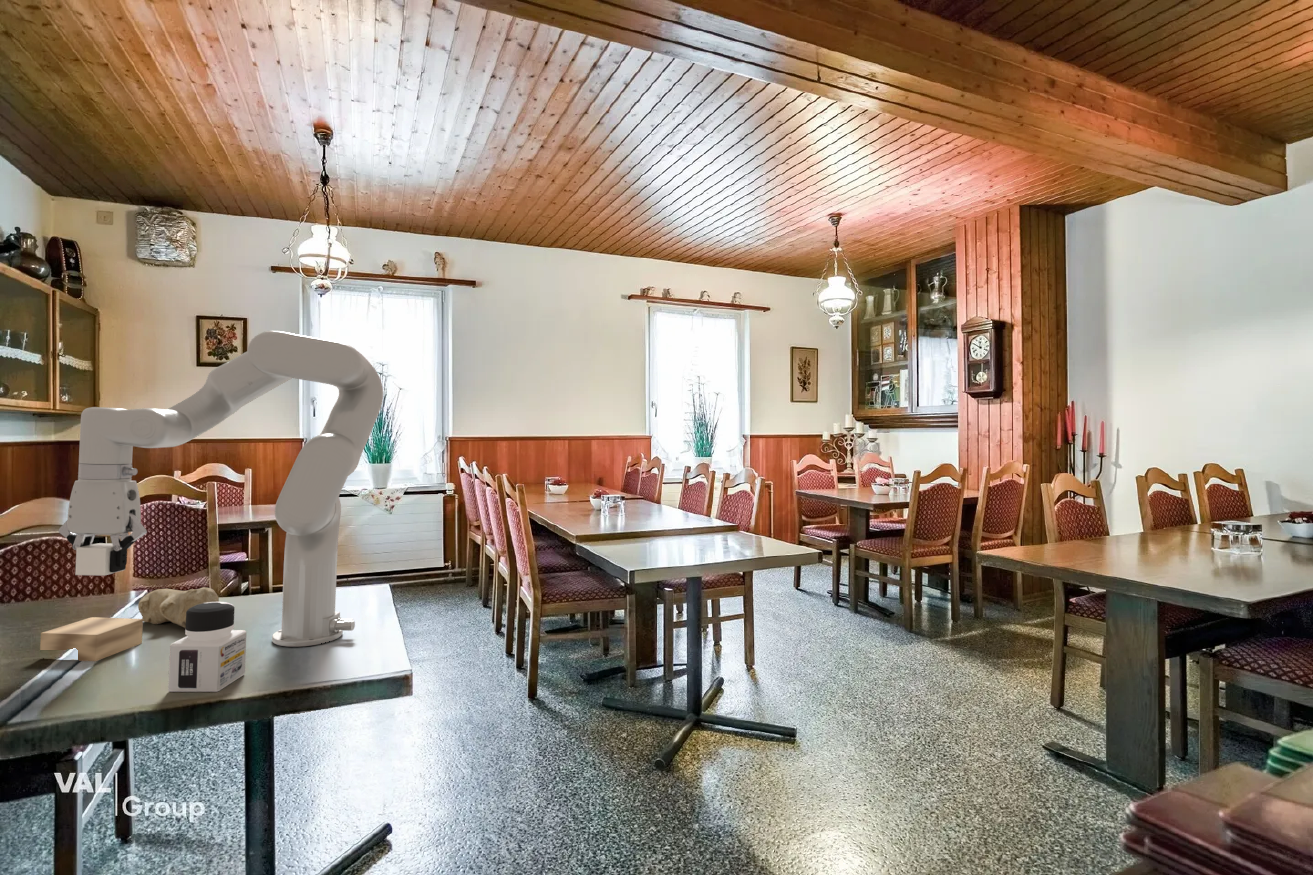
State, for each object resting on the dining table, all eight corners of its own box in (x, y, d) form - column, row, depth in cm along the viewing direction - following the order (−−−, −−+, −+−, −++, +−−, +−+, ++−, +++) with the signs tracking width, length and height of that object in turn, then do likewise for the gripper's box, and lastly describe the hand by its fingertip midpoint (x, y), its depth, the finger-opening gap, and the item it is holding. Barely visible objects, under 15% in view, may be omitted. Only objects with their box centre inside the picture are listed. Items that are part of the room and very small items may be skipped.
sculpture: (167, 624, 124) (205, 580, 130) (119, 609, 132) (157, 569, 138) (200, 644, 130) (235, 601, 136) (153, 629, 137) (188, 589, 144)
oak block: (141, 644, 122) (142, 618, 122) (95, 662, 112) (96, 634, 112) (90, 642, 122) (91, 617, 122) (39, 660, 112) (40, 632, 112)
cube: (125, 569, 120) (126, 543, 120) (104, 575, 115) (105, 548, 115) (97, 569, 120) (98, 543, 120) (75, 574, 115) (76, 547, 115)
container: (218, 692, 100) (221, 611, 100) (166, 692, 99) (170, 610, 100) (245, 674, 108) (248, 598, 108) (198, 674, 107) (201, 598, 107)
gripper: (167, 473, 122) (163, 567, 122) (73, 471, 120) (69, 565, 120) (139, 476, 114) (134, 575, 114) (38, 473, 113) (34, 574, 113)
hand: (101, 569), depth 117 cm, fingers closed on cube, 5 cm apart
